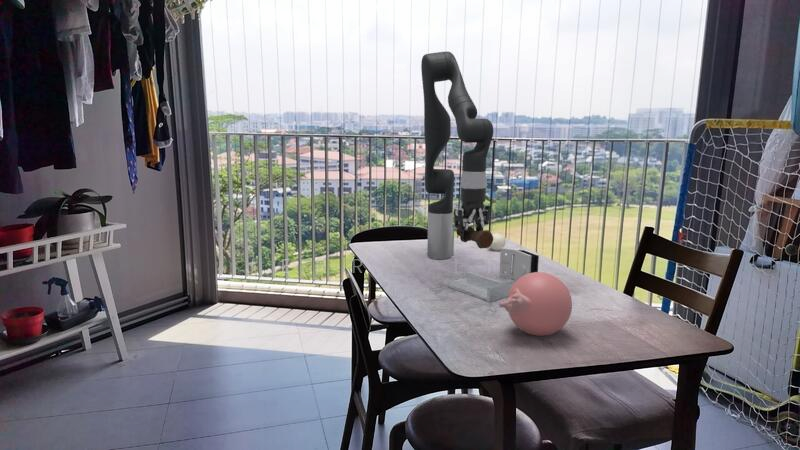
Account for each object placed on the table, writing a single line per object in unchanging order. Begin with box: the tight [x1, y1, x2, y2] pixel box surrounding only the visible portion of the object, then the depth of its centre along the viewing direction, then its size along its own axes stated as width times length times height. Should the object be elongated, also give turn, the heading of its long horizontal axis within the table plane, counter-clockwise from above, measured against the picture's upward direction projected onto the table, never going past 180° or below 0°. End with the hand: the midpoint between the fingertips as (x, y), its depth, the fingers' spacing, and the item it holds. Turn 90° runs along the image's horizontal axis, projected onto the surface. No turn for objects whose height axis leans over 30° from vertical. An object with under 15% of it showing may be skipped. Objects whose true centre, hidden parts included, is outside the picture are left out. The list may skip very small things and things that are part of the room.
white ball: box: [489, 232, 506, 251], centre depth 212 cm, size 7×7×7 cm
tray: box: [443, 271, 516, 303], centre depth 163 cm, size 11×19×4 cm, turn 38°
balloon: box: [498, 271, 573, 337], centre depth 129 cm, size 15×20×15 cm
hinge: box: [498, 247, 540, 282], centre depth 172 cm, size 14×5×10 cm, turn 37°
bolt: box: [456, 225, 493, 249], centre depth 162 cm, size 6×5×15 cm
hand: (471, 240), depth 163 cm, fingers closed on bolt, 5 cm apart
